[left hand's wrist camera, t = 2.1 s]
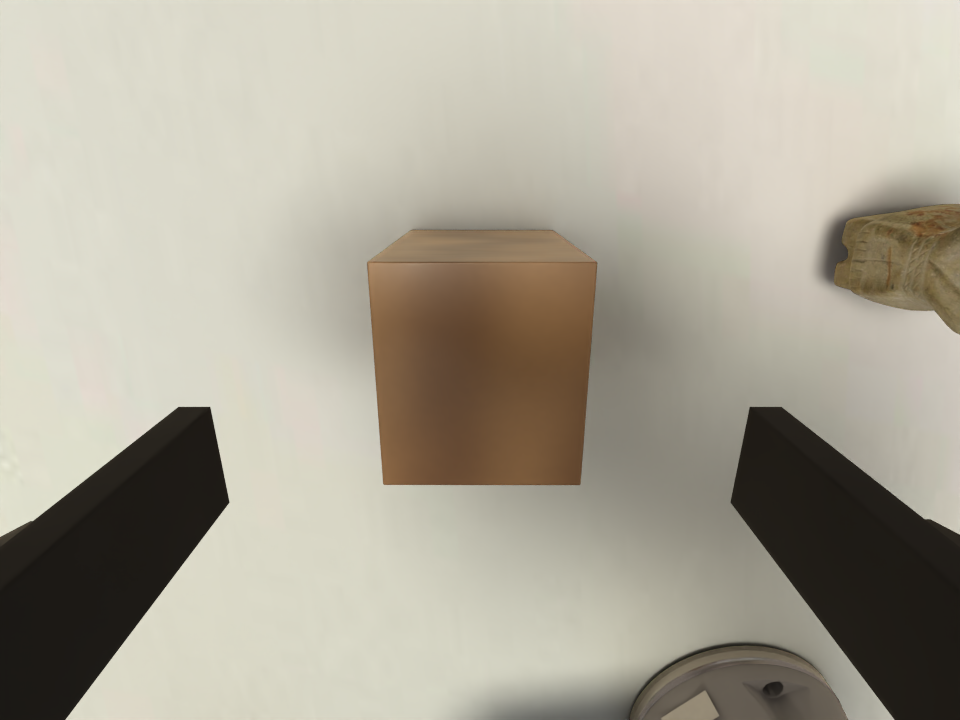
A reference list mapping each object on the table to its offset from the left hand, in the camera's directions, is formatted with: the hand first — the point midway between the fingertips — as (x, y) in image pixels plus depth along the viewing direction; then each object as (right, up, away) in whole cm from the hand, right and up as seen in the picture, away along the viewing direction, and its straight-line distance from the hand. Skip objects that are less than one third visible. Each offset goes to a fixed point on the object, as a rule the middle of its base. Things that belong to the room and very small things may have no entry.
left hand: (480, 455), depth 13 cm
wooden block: (0, +5, +16) cm, 17 cm away
